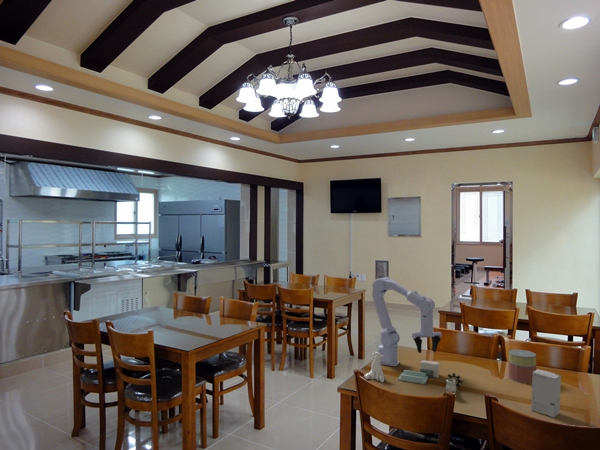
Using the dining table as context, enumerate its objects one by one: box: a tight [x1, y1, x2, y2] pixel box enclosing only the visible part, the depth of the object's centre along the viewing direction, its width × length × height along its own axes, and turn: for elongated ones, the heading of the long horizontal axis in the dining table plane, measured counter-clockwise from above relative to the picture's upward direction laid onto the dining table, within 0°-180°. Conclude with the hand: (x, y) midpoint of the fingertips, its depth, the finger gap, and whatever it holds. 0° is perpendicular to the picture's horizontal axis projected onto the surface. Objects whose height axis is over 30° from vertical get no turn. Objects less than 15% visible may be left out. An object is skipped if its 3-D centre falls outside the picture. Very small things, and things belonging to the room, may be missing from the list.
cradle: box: [397, 369, 429, 385], centre depth 190 cm, size 12×8×2 cm, turn 63°
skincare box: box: [530, 368, 562, 418], centre depth 156 cm, size 8×6×15 cm
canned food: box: [508, 349, 537, 385], centre depth 189 cm, size 11×11×12 cm
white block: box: [420, 359, 440, 378], centre depth 195 cm, size 8×4×6 cm, turn 63°
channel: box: [419, 368, 434, 379], centre depth 196 cm, size 6×7×3 cm
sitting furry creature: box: [363, 351, 385, 383], centre depth 192 cm, size 10×9×12 cm
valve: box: [445, 372, 463, 394], centre depth 174 cm, size 7×7×12 cm
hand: (426, 352), depth 199 cm, fingers open, 7 cm apart
